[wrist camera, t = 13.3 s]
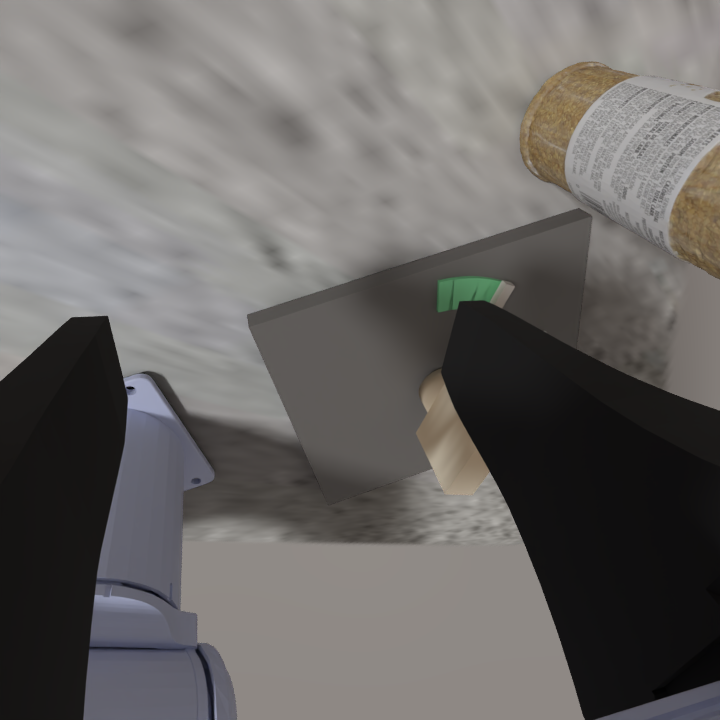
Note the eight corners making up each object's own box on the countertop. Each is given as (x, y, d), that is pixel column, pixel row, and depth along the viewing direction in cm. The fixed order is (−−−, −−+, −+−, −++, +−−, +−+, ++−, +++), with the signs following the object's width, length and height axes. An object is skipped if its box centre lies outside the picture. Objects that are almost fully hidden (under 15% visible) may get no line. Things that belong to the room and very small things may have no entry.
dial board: (325, 492, 30) (329, 508, 30) (247, 314, 21) (249, 329, 20) (558, 410, 32) (569, 422, 31) (578, 208, 22) (594, 218, 22)
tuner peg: (441, 423, 27) (480, 495, 23) (401, 418, 26) (436, 493, 22) (525, 285, 23) (591, 346, 19) (481, 273, 22) (542, 335, 18)
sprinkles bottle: (634, 112, 20) (1074, 248, 10) (551, 200, 22) (860, 395, 12) (582, 28, 18) (1100, 96, 8) (492, 135, 19) (821, 311, 9)
